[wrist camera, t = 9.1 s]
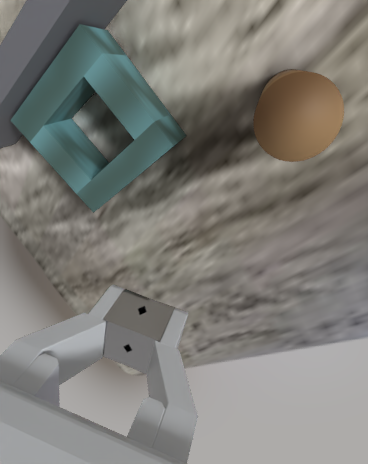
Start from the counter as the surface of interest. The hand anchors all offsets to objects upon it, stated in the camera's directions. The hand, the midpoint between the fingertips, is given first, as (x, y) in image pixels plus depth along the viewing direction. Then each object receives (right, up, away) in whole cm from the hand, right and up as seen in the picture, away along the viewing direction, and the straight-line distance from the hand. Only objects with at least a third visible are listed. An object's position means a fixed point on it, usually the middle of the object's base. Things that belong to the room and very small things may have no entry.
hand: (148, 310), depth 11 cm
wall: (-9, +17, +14) cm, 24 cm away
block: (-5, +13, +16) cm, 21 cm away
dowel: (+9, +13, +12) cm, 20 cm away
